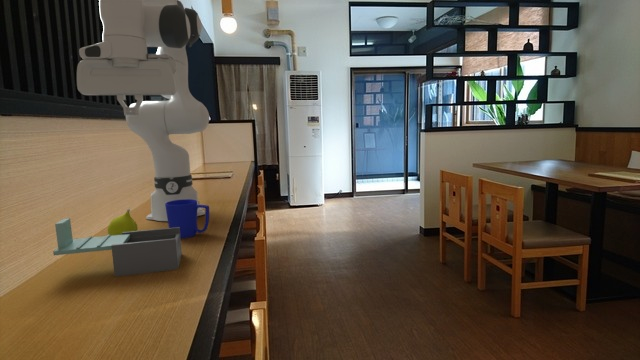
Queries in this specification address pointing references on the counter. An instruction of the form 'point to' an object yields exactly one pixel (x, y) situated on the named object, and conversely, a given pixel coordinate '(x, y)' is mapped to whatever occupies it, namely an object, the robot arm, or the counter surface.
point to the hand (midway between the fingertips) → (131, 115)
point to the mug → (185, 216)
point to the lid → (83, 240)
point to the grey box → (148, 252)
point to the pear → (122, 225)
